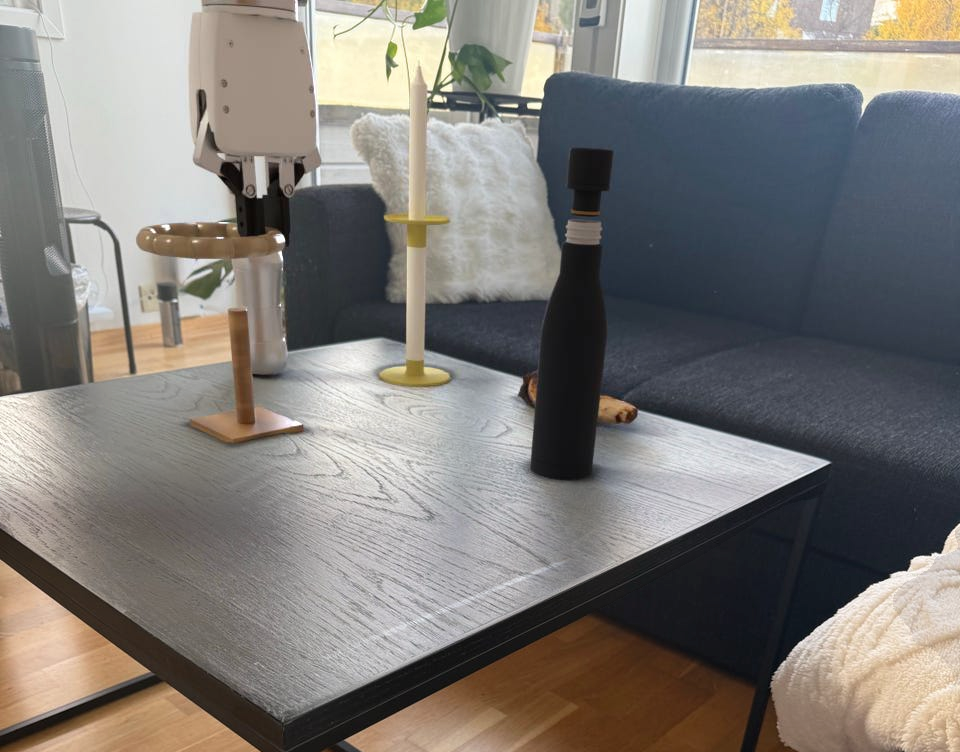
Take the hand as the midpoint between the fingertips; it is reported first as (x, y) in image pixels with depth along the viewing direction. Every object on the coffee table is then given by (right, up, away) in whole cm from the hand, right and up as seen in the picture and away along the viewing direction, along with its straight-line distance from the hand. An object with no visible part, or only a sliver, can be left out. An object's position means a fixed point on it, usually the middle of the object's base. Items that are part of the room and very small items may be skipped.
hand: (265, 244), depth 82 cm
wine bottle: (+28, -18, +13) cm, 36 cm away
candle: (+10, +1, +46) cm, 47 cm away
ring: (-4, -1, -4) cm, 5 cm away
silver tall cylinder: (-10, +1, +43) cm, 45 cm away
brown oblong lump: (+30, -8, +31) cm, 44 cm away
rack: (-7, -12, +21) cm, 25 cm away
